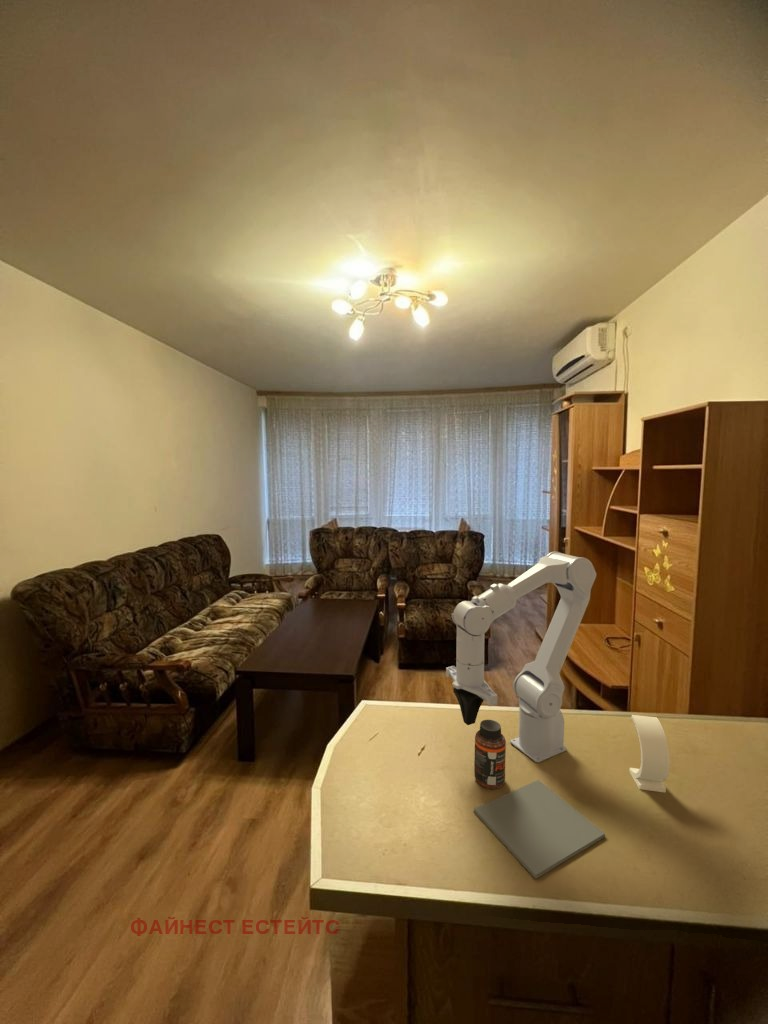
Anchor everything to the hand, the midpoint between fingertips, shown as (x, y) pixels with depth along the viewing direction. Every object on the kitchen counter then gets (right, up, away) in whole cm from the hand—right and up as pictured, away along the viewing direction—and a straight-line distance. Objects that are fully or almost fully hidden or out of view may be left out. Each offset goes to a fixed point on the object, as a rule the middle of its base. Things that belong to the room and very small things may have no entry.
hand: (469, 722), depth 86 cm
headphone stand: (+34, -9, -6) cm, 35 cm away
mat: (+8, -9, -16) cm, 20 cm away
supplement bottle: (+3, -9, -5) cm, 11 cm away
